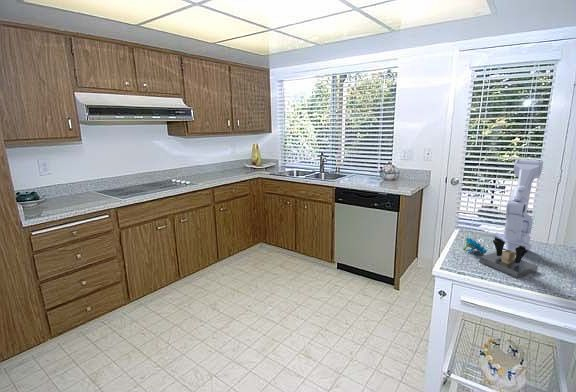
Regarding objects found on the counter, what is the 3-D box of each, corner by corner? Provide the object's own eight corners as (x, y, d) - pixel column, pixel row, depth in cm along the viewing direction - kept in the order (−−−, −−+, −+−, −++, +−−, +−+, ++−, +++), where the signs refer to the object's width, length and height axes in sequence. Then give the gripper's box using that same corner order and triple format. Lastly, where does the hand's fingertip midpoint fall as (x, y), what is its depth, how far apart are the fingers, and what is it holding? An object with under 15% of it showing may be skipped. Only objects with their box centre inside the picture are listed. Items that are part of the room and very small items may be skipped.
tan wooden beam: (506, 264, 136) (509, 249, 134) (513, 266, 133) (515, 251, 132) (500, 266, 134) (502, 251, 132) (506, 268, 132) (509, 253, 130)
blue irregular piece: (492, 253, 142) (477, 239, 141) (483, 263, 143) (468, 248, 141) (475, 247, 153) (462, 234, 152) (467, 256, 154) (454, 242, 152)
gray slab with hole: (498, 256, 143) (499, 251, 143) (536, 271, 129) (537, 265, 128) (479, 261, 138) (479, 256, 138) (516, 277, 124) (517, 272, 124)
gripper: (489, 225, 135) (485, 254, 138) (525, 236, 122) (520, 268, 125) (500, 223, 137) (496, 251, 141) (536, 233, 124) (531, 264, 128)
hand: (508, 259), depth 133 cm, fingers open, 7 cm apart
